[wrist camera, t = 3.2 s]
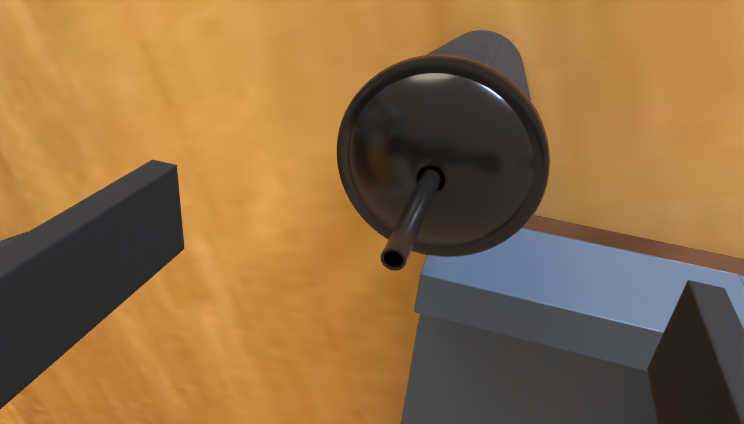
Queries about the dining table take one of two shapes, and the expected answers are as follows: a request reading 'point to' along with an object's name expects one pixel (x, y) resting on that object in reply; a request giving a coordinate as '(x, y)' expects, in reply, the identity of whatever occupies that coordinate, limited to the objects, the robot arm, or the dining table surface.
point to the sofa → (551, 326)
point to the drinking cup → (445, 150)
